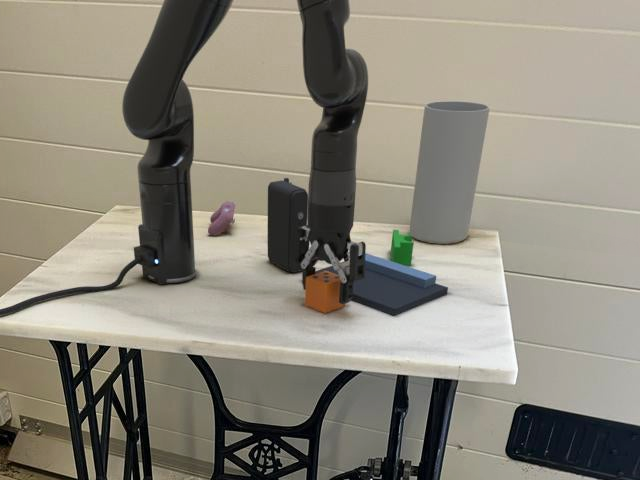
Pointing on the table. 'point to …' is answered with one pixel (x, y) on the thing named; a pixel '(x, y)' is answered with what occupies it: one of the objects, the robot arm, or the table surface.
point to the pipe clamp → (401, 248)
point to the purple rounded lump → (222, 218)
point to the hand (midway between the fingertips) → (326, 296)
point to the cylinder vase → (447, 170)
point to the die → (323, 291)
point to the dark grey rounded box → (285, 222)
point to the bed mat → (393, 286)
